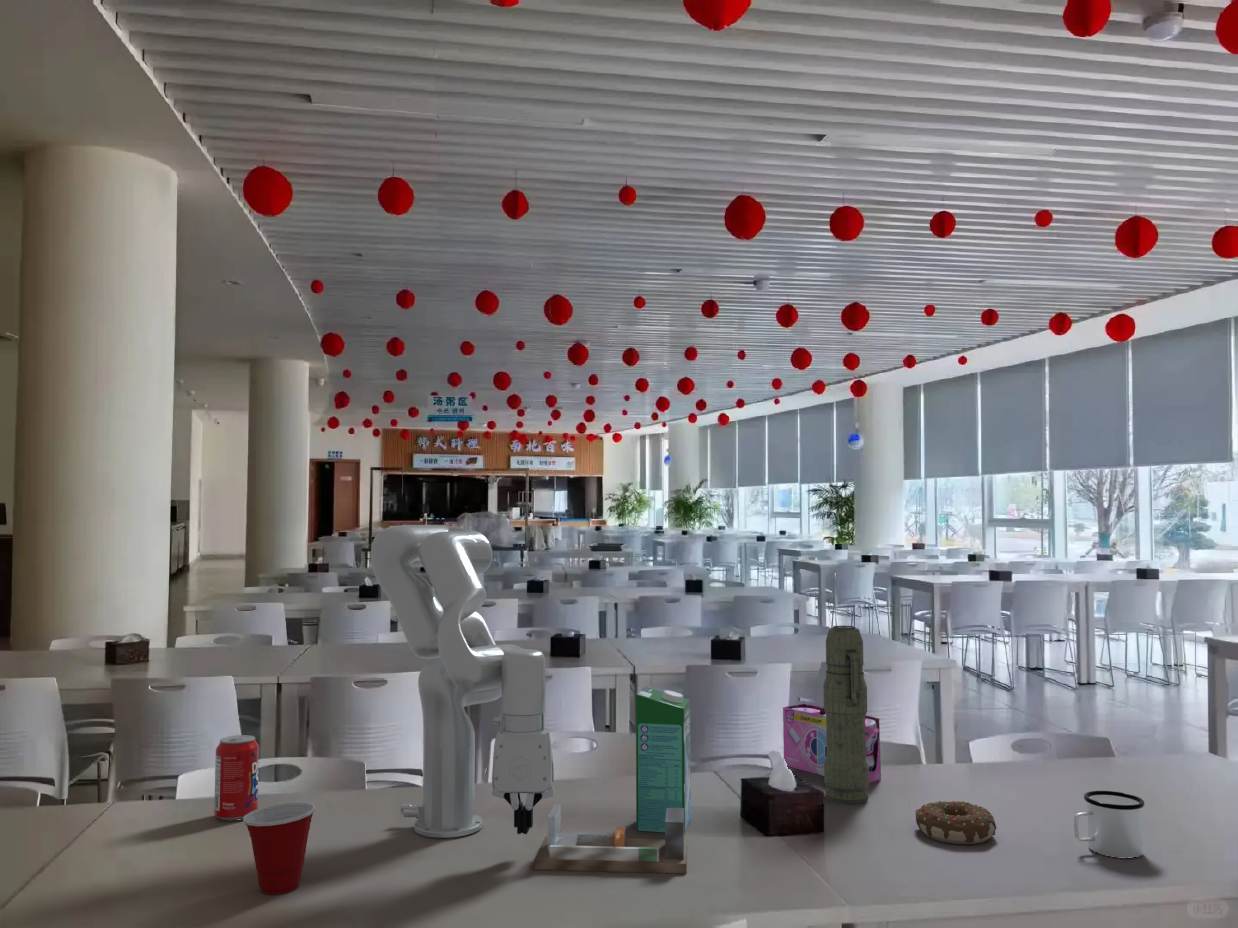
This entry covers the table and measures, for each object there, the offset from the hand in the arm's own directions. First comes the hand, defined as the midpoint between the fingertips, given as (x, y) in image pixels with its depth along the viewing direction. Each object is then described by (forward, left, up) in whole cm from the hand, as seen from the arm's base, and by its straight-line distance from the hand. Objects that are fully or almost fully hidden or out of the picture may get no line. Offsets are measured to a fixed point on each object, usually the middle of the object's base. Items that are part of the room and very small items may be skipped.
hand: (523, 831), depth 166 cm
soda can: (-60, +18, -4) cm, 63 cm away
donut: (+76, +18, -5) cm, 78 cm away
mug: (+100, +10, -4) cm, 101 cm away
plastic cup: (-36, -17, -4) cm, 40 cm away
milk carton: (+23, +19, -4) cm, 30 cm away
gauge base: (+15, 0, -4) cm, 16 cm away
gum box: (+60, +60, -5) cm, 85 cm away
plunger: (+9, 0, -2) cm, 10 cm away
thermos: (+60, +40, -4) cm, 73 cm away
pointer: (+16, -1, -2) cm, 17 cm away
